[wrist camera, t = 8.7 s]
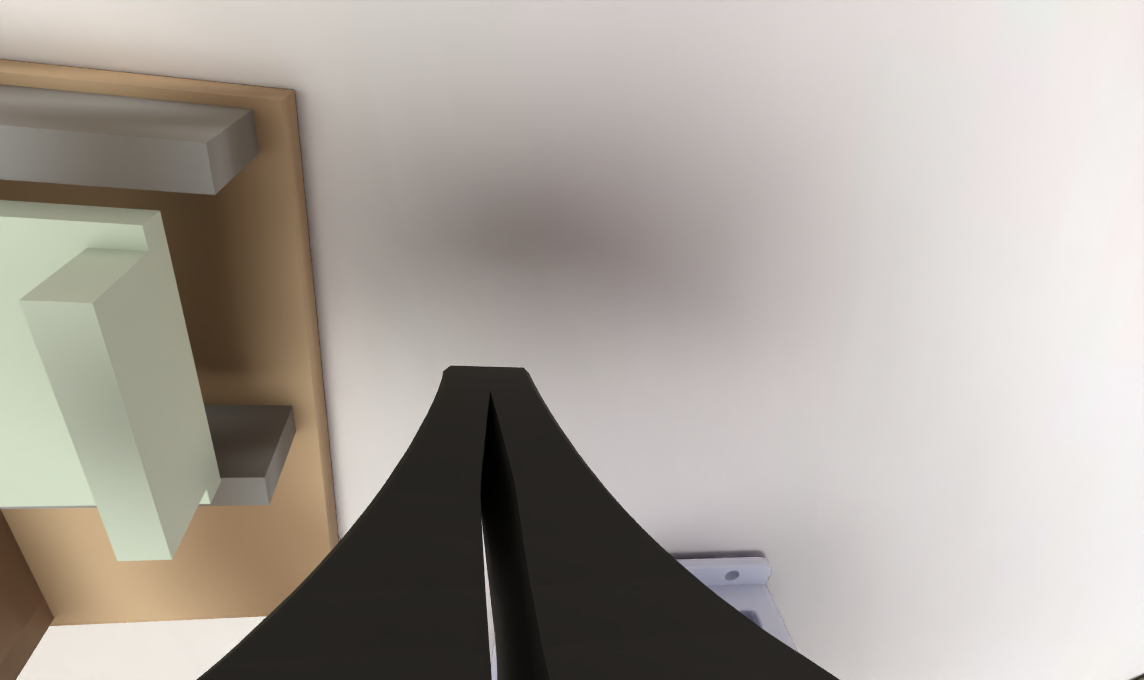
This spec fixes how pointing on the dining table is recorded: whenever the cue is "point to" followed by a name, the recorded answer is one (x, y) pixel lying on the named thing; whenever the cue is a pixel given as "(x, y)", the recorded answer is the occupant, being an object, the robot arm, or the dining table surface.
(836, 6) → the dining table surface
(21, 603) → the brown block
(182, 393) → the cover
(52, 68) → the board
